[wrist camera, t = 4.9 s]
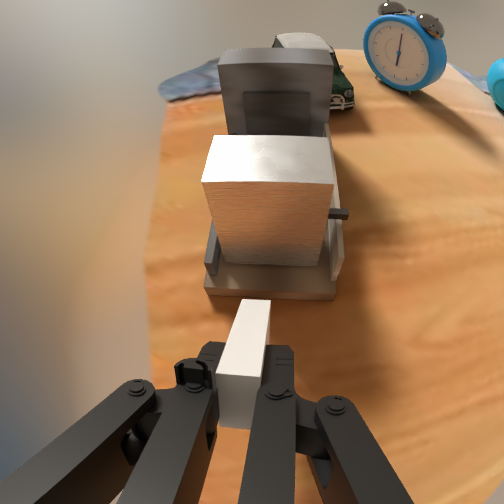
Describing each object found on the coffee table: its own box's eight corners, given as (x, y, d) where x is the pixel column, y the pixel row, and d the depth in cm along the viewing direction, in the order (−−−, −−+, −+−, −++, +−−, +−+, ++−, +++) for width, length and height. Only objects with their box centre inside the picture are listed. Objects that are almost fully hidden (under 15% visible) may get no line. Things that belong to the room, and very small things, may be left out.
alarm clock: (358, 72, 43) (365, -5, 30) (376, 66, 45) (385, -4, 32) (423, 107, 37) (444, 23, 24) (437, 98, 39) (457, 23, 26)
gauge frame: (322, 138, 33) (329, 50, 24) (334, 300, 23) (372, 207, 13) (236, 136, 34) (224, 49, 25) (207, 294, 24) (162, 201, 14)
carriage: (336, 224, 25) (356, 139, 17) (339, 267, 23) (367, 186, 15) (231, 221, 26) (214, 136, 18) (225, 262, 24) (201, 181, 16)
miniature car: (291, 123, 36) (292, 68, 29) (265, 68, 45) (263, 27, 38) (357, 119, 36) (365, 67, 29) (315, 65, 45) (317, 25, 38)
